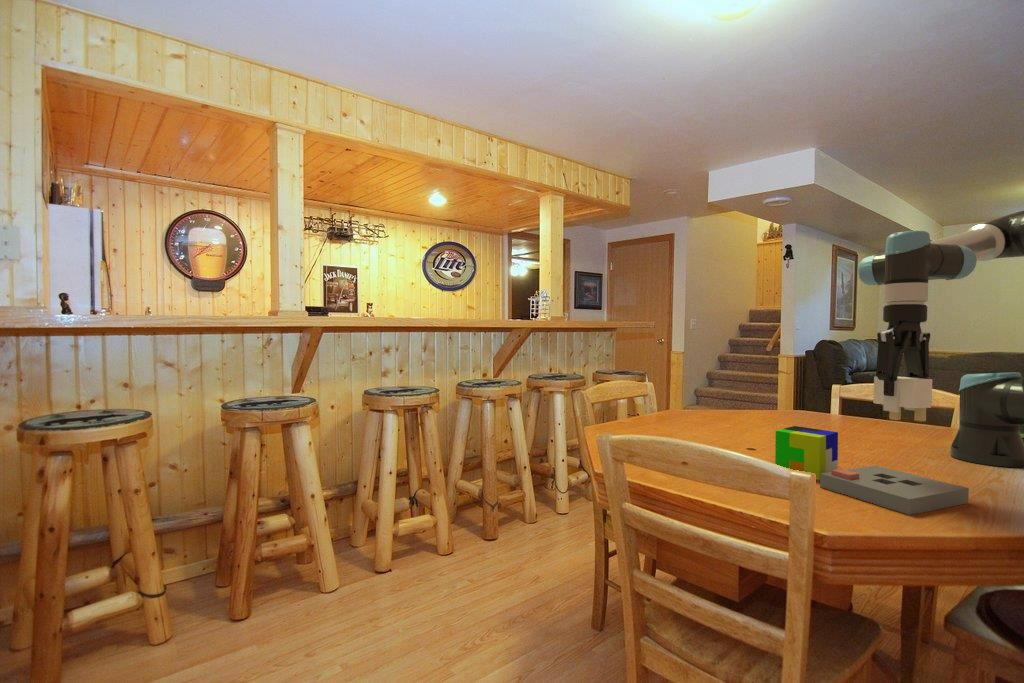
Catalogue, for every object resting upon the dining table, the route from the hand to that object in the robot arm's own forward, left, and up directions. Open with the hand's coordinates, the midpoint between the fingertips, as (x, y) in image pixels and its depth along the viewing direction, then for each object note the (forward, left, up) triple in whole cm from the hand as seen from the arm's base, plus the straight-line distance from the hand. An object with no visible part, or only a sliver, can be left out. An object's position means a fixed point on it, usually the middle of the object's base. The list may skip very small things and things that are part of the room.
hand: (901, 410), depth 109 cm
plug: (0, 0, -2) cm, 2 cm away
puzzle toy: (+7, -17, -17) cm, 25 cm away
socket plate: (+6, +2, -17) cm, 18 cm away
